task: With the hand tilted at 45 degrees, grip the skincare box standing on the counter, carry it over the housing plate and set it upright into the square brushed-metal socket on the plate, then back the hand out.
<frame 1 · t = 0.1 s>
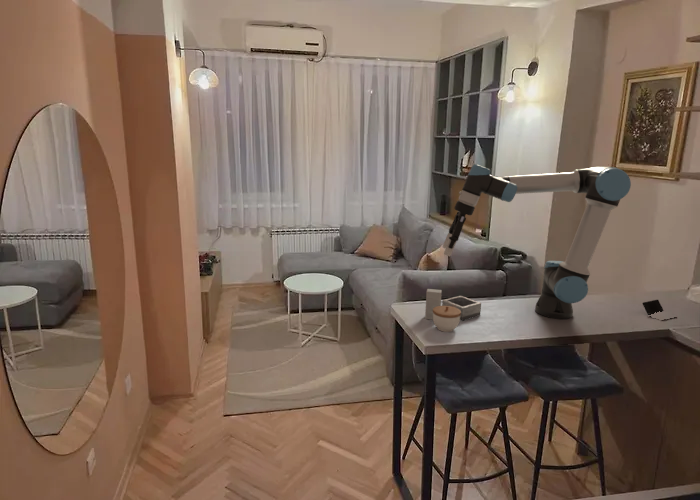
hand: (446, 251, 192), 28 cm above the bar counter, tool tilted 20°, fingers open, 13 cm apart
lidded jar: (445, 329, 184), on the bar counter
housing: (460, 313, 200), on the bar counter
skincare box: (432, 318, 194), on the bar counter
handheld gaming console: (658, 316, 204), on the bar counter
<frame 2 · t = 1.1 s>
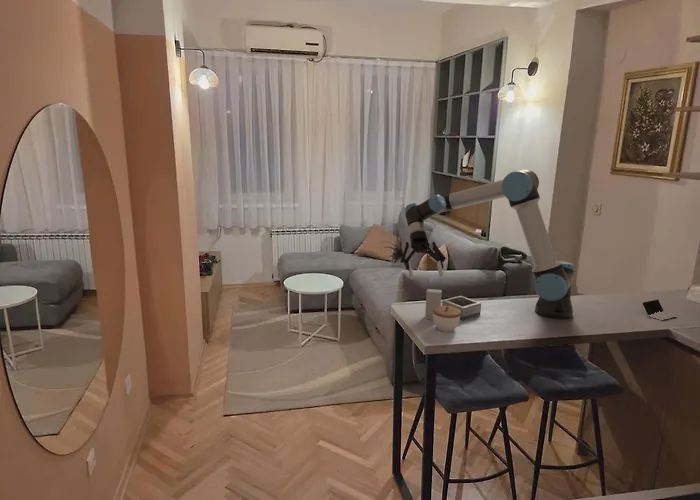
hand: (426, 275, 201), 15 cm above the bar counter, tool tilted 45°, fingers open, 13 cm apart
nothing on the bar counter moved.
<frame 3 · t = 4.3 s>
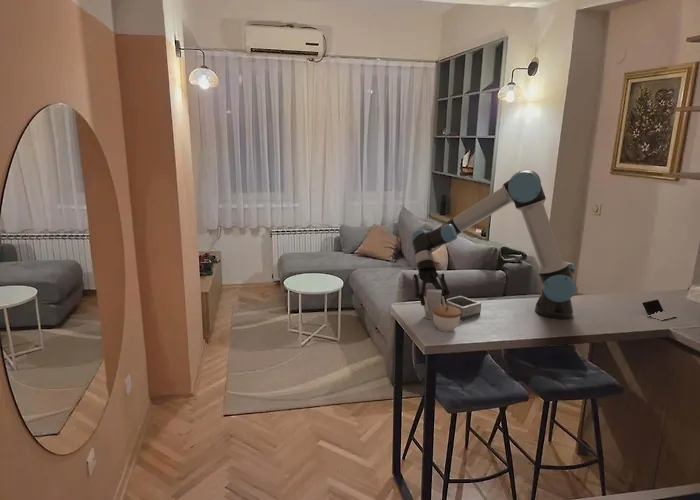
hand: (436, 311, 190), 4 cm above the bar counter, tool tilted 45°, fingers closed on skincare box, 7 cm apart
skincare box: (432, 318, 194), on the bar counter, touching gripper
everything else where it was.
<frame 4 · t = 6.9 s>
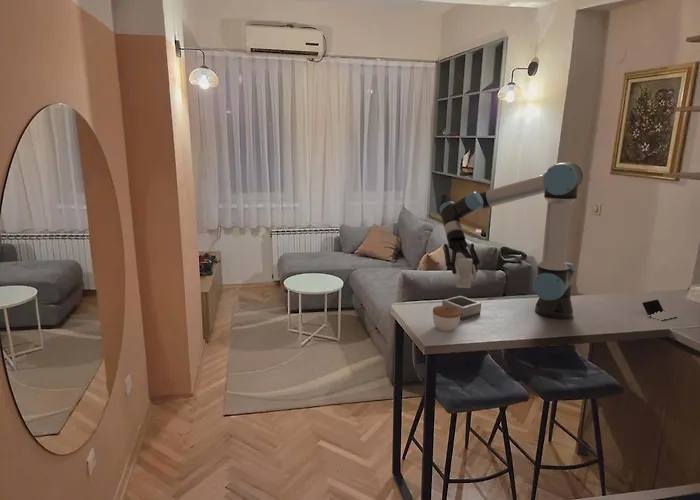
hand: (467, 279, 193), 16 cm above the bar counter, tool tilted 45°, fingers closed on skincare box, 7 cm apart
skincare box: (463, 287, 197), point 12 cm above the bar counter, touching gripper
everything else where it was.
when the fingers open (7 cm above the bar counter, at t = 9.3 s): skincare box drops 2 cm, resting on housing.
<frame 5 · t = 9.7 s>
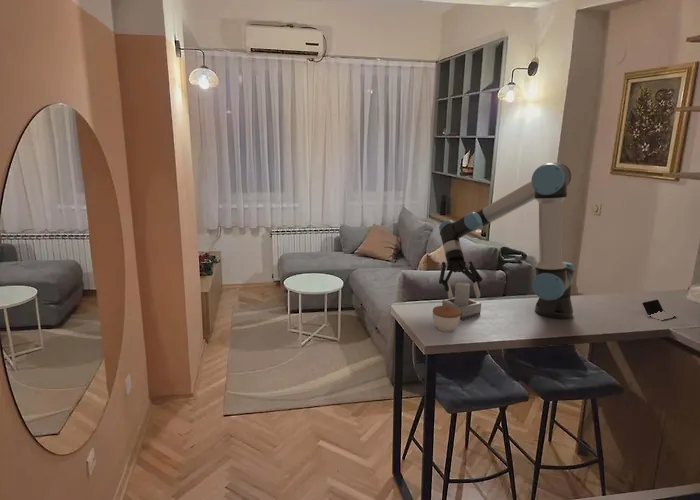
hand: (464, 297, 196), 8 cm above the bar counter, tool tilted 45°, fingers open, 11 cm apart
skincare box: (460, 310, 200), point 1 cm above the bar counter, touching housing
everything else where it was.
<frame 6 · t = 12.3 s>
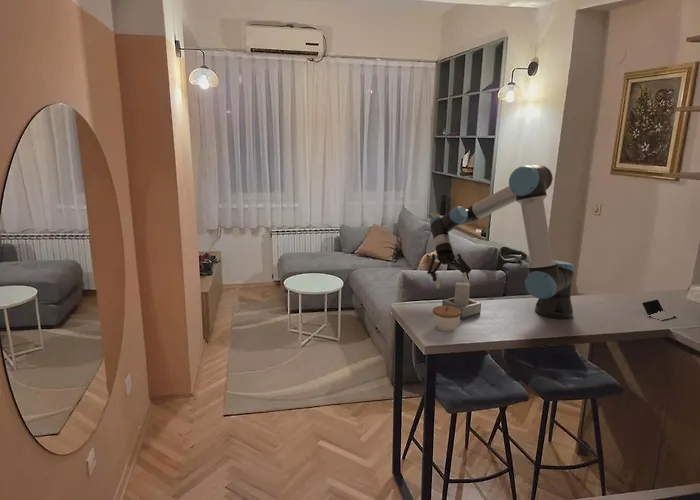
hand: (453, 286, 208), 9 cm above the bar counter, tool tilted 45°, fingers open, 13 cm apart
nothing on the bar counter moved.
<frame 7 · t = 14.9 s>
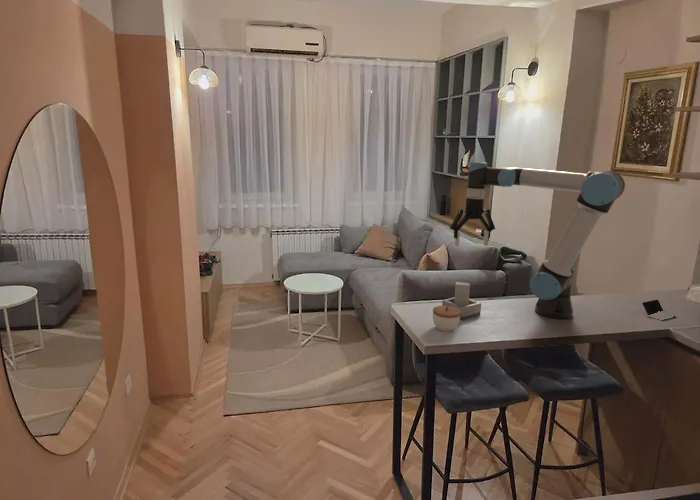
hand: (471, 245, 209), 27 cm above the bar counter, tool pointing down, fingers open, 13 cm apart
nothing on the bar counter moved.
at the end: skincare box 0.1 cm off-centre on the housing, point 1.3 cm above the housing's base; skincare box tilted 0°; the gripper is holding nothing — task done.
